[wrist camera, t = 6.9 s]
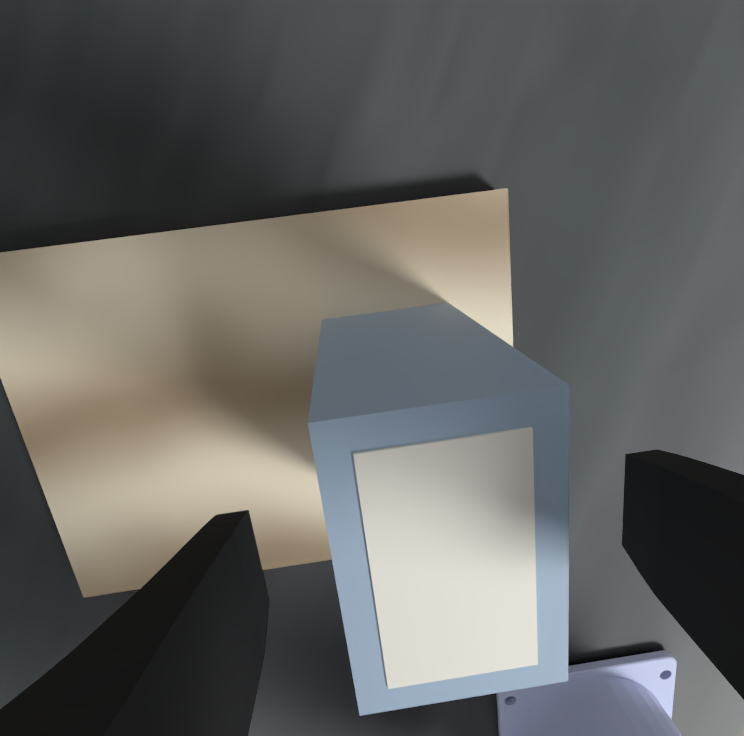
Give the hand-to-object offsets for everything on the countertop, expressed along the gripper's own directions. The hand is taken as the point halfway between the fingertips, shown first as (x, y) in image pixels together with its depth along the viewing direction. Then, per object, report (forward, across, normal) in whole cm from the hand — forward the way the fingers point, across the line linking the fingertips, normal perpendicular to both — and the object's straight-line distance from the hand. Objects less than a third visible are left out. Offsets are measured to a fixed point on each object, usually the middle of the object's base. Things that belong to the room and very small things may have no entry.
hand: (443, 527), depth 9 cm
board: (+8, +4, 0) cm, 9 cm away
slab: (+7, 0, 0) cm, 7 cm away
